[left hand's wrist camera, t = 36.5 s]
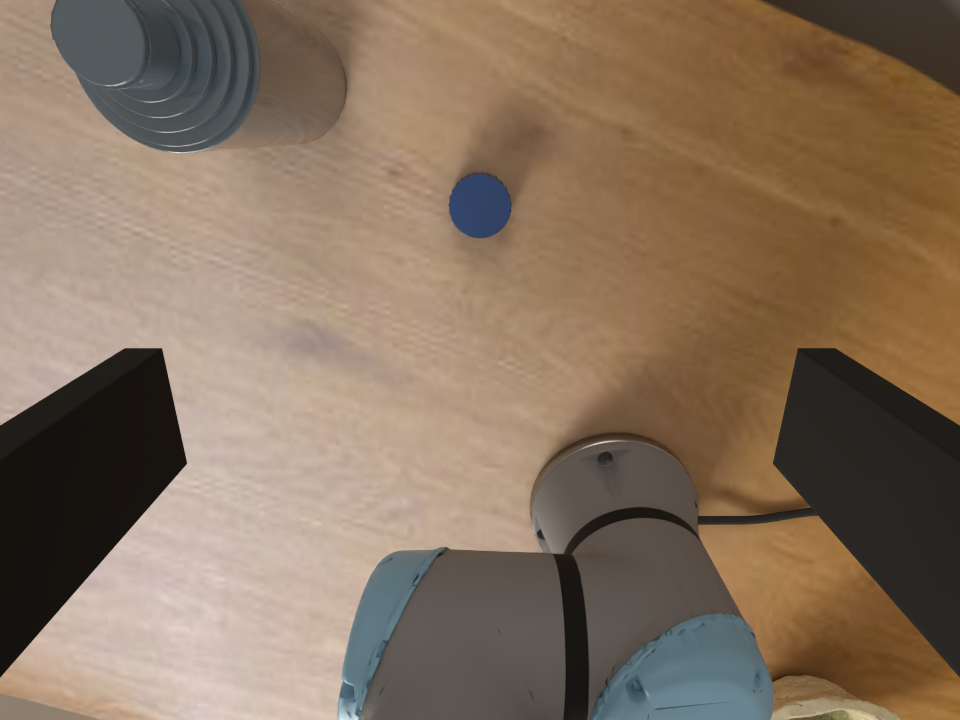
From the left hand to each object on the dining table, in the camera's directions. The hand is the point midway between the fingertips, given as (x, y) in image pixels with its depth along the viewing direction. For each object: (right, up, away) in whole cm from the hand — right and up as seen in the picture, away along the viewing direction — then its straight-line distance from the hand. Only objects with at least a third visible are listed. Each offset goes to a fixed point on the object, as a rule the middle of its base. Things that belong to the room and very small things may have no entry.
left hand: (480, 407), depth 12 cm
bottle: (-14, +21, +29) cm, 39 cm away
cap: (0, +12, +31) cm, 33 cm away
